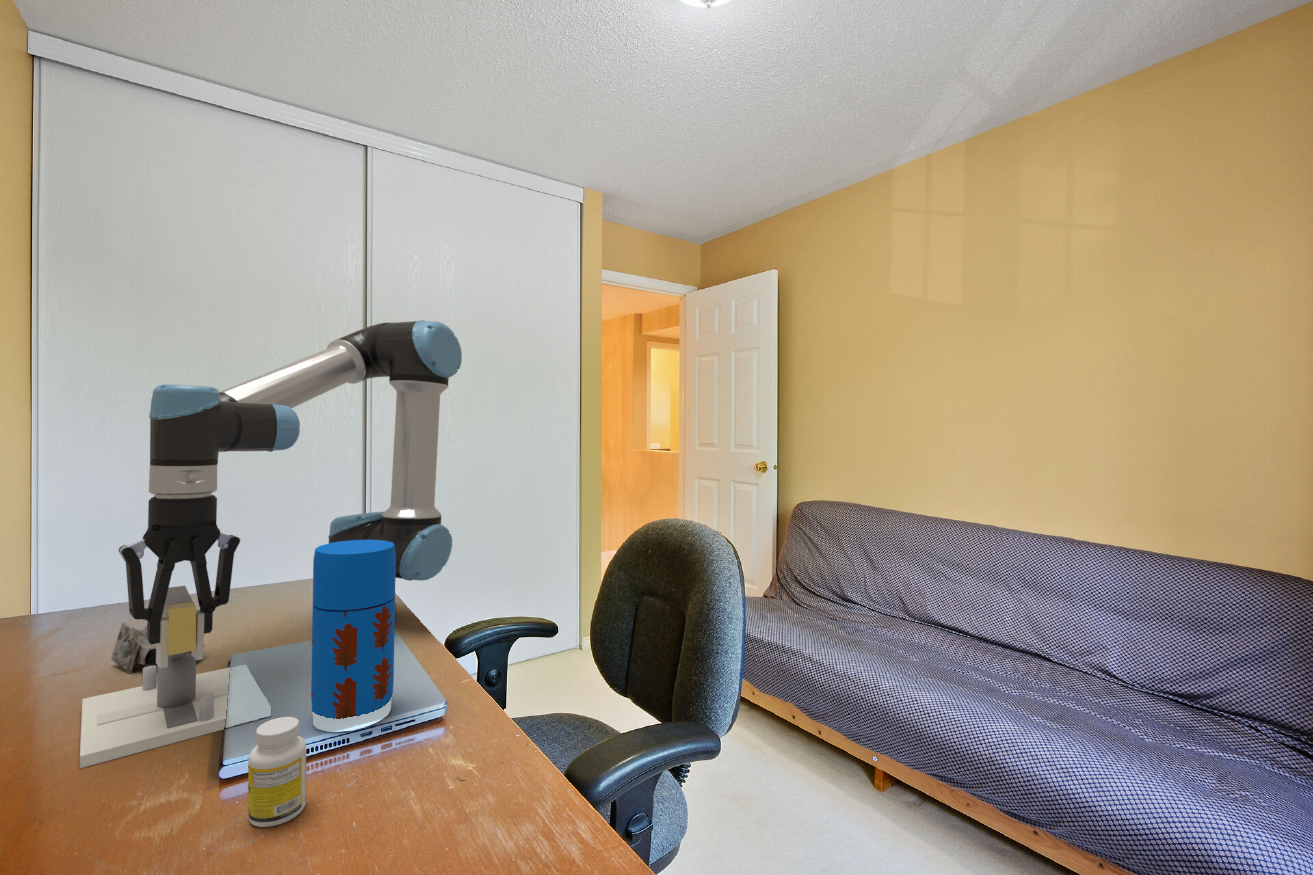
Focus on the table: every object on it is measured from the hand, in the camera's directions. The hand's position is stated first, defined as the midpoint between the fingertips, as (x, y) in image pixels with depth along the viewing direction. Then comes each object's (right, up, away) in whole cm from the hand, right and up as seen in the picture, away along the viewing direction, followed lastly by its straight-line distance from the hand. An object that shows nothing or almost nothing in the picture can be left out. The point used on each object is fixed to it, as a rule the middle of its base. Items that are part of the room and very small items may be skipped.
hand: (179, 660), depth 83 cm
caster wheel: (-20, -8, +21) cm, 30 cm away
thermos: (+22, -10, +4) cm, 25 cm away
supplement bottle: (+25, -10, -18) cm, 33 cm away
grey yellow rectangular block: (-3, 0, +3) cm, 4 cm away
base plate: (-3, -9, +3) cm, 10 cm away
